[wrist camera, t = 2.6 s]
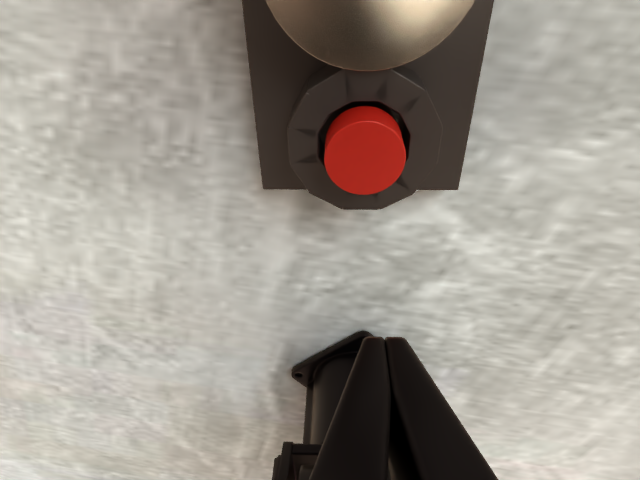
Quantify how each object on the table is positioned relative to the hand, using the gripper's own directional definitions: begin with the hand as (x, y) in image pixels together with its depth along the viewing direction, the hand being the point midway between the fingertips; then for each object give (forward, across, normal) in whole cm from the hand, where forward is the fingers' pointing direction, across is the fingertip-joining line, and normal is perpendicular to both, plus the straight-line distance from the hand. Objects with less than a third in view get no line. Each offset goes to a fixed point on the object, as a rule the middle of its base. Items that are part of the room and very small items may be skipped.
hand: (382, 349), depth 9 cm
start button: (+10, 0, 0) cm, 10 cm away
